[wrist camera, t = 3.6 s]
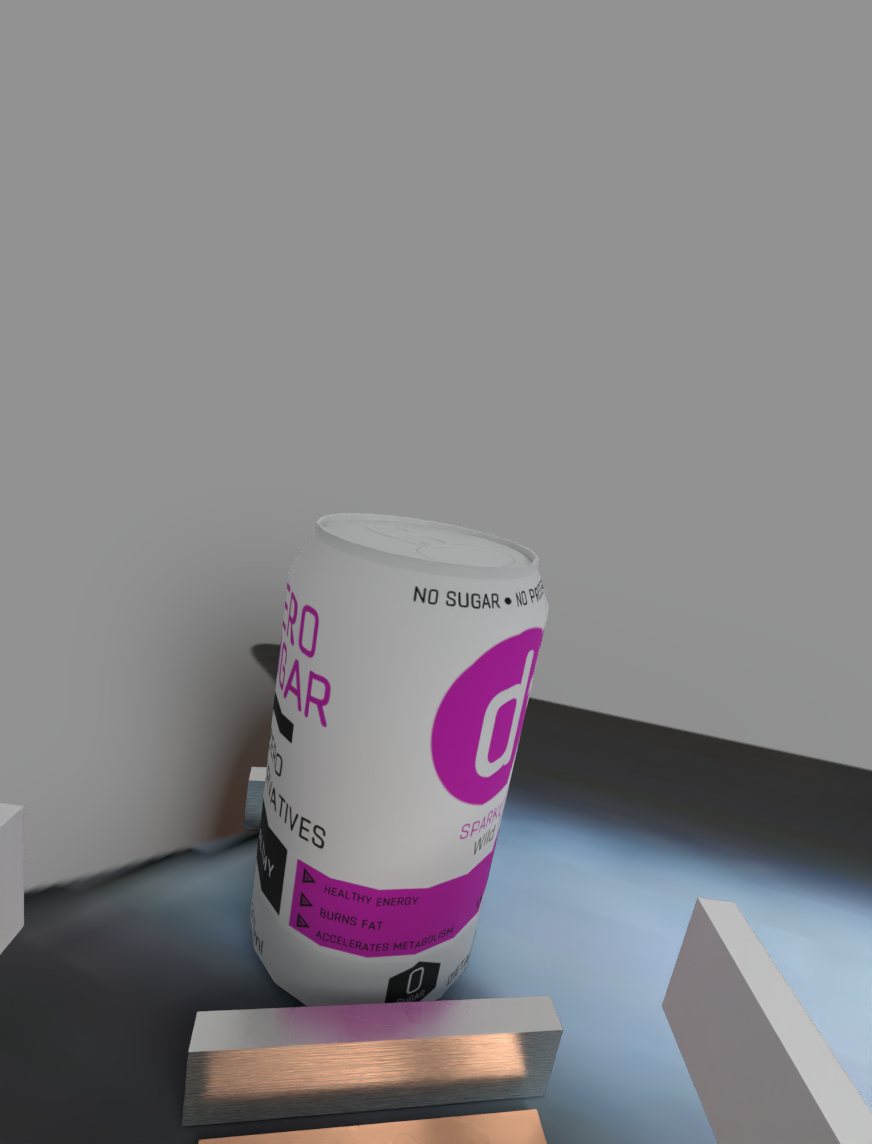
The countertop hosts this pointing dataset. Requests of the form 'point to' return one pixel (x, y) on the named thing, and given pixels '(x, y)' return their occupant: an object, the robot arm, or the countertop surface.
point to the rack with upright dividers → (371, 1062)
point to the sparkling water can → (390, 754)
